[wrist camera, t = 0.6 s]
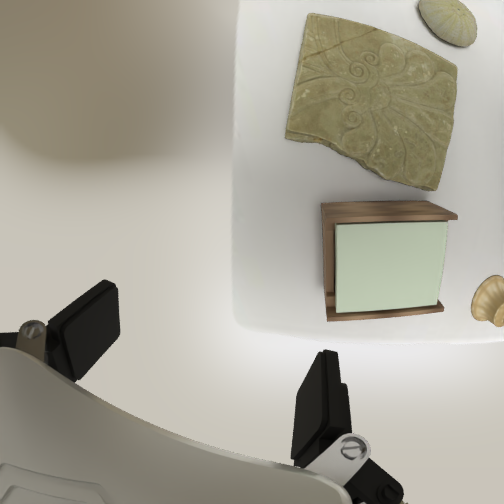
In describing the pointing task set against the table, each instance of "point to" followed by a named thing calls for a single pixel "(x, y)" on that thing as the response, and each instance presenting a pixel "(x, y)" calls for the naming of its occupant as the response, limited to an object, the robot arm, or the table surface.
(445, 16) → the sea urchin shell
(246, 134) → the table surface
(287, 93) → the table surface
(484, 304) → the hand bell
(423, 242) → the cover plate
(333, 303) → the box
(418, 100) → the decorative tile
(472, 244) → the table surface
